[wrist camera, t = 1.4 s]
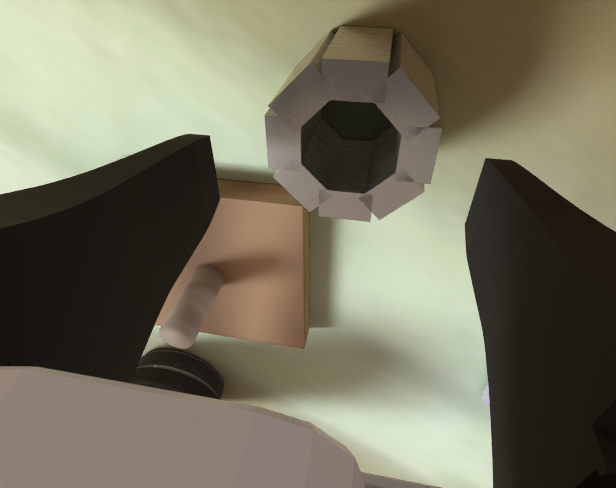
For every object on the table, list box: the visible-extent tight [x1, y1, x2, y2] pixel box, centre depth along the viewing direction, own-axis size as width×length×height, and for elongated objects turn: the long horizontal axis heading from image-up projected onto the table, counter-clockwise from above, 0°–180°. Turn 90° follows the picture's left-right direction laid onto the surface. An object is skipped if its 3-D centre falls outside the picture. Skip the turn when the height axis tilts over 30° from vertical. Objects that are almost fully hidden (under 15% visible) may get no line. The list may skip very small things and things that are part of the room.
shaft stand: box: [155, 179, 309, 349], centre depth 20 cm, size 10×10×6 cm
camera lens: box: [131, 350, 223, 400], centre depth 25 cm, size 8×8×15 cm
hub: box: [265, 26, 443, 222], centre depth 14 cm, size 5×5×4 cm
